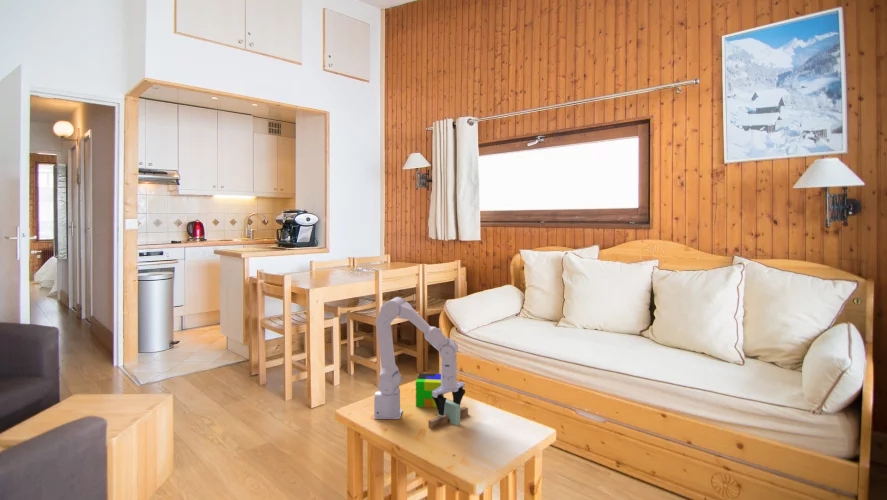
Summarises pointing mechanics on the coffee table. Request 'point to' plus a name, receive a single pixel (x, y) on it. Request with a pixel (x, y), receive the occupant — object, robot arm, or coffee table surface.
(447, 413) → the teal plate
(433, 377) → the puzzle toy
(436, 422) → the walnut rail
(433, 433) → the coffee table surface
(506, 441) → the coffee table surface
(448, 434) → the coffee table surface
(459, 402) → the robot arm
